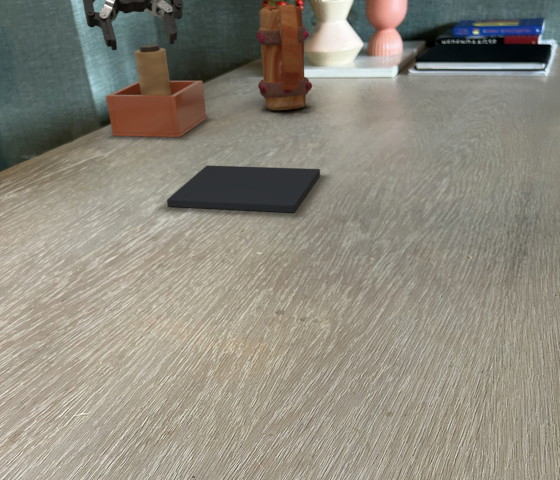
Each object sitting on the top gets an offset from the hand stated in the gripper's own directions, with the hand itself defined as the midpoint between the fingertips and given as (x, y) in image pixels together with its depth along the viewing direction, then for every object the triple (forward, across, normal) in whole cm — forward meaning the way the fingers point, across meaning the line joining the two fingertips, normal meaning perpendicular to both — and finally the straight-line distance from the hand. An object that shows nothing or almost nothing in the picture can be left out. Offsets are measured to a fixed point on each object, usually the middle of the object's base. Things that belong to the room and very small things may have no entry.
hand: (143, 43), depth 98 cm
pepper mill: (+10, 0, +4) cm, 11 cm away
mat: (+35, +3, -19) cm, 40 cm away
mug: (+12, +20, +4) cm, 23 cm away
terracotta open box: (+11, 0, +5) cm, 12 cm away
